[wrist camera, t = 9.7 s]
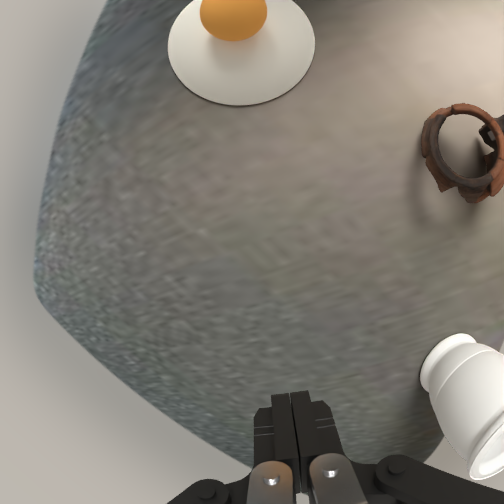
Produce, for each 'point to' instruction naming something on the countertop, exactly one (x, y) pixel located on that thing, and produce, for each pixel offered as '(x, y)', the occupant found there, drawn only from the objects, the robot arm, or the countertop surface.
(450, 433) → the jar
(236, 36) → the ball
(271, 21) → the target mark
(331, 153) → the countertop surface
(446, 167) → the pottery mug
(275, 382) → the countertop surface
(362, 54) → the countertop surface
